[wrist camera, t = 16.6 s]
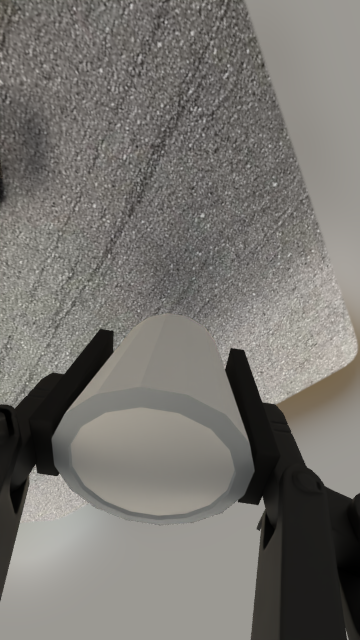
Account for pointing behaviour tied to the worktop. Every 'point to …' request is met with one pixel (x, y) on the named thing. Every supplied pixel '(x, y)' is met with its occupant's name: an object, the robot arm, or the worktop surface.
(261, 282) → the worktop surface
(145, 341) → the white cup
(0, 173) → the drawer
